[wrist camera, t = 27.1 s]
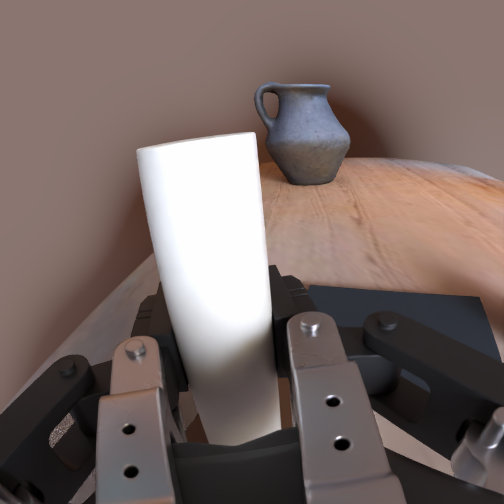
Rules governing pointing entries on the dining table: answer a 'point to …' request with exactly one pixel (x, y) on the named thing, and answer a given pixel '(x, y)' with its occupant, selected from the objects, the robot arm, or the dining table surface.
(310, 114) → the pitcher
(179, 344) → the tall white pillar
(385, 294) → the mat
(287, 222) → the dining table surface
